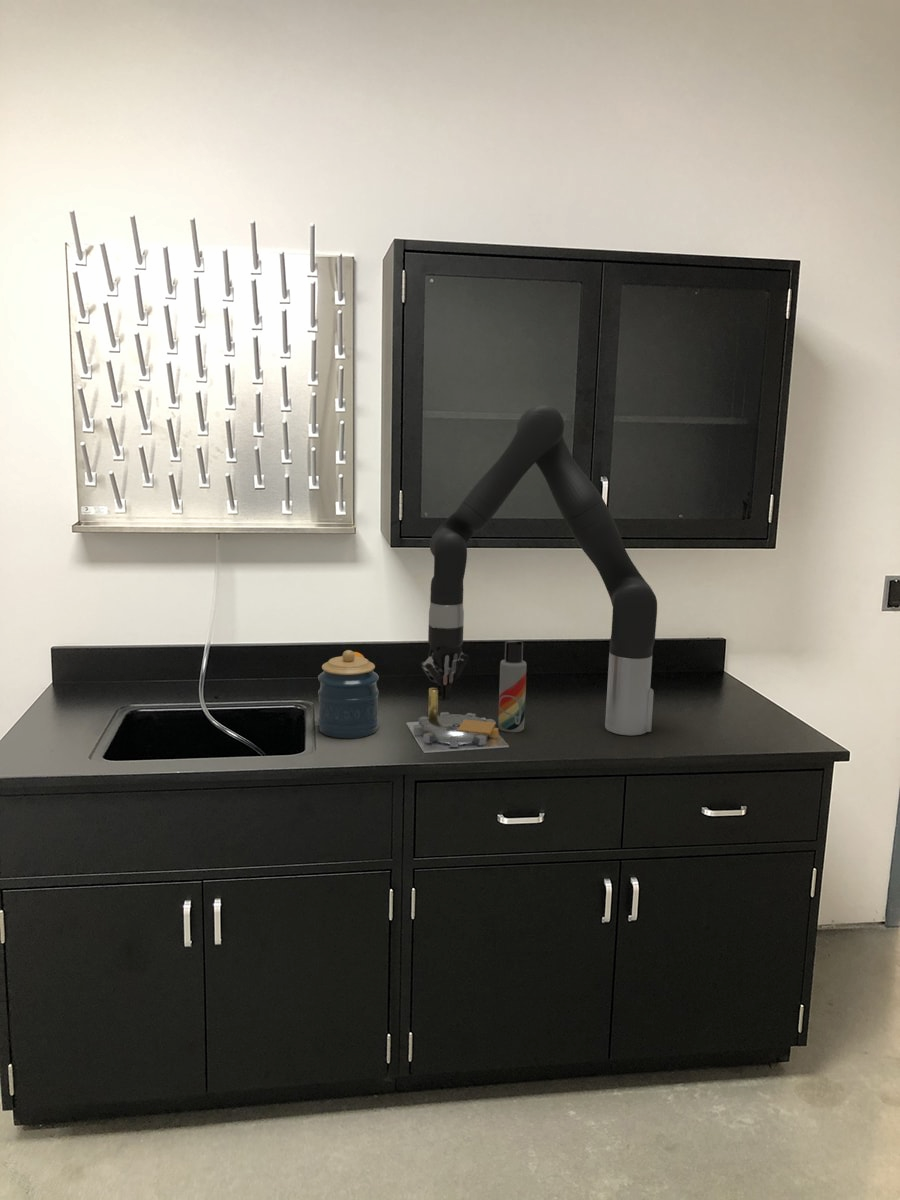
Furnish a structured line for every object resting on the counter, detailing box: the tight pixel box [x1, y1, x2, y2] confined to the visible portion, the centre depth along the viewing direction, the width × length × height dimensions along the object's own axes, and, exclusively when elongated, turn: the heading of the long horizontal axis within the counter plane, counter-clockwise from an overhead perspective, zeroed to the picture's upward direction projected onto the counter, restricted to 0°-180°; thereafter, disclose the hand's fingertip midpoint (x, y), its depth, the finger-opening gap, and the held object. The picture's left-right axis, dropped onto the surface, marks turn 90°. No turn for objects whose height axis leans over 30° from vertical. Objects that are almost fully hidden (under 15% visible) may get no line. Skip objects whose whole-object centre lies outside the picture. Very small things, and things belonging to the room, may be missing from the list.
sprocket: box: [413, 687, 500, 747], centre depth 200 cm, size 18×18×8 cm
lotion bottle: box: [497, 639, 528, 733], centre depth 204 cm, size 6×6×20 cm
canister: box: [317, 649, 380, 739], centre depth 201 cm, size 13×13×18 cm
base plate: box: [406, 717, 510, 754], centre depth 201 cm, size 18×18×1 cm
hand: (444, 699), depth 205 cm, fingers closed
